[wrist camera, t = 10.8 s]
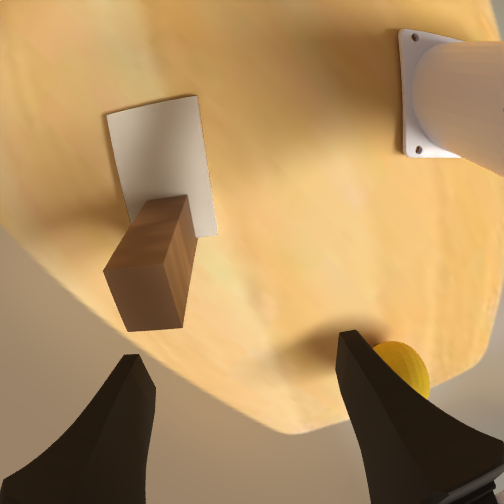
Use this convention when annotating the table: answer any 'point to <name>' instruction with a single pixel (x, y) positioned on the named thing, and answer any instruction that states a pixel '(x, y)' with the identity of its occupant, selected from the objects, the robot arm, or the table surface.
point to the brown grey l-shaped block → (159, 210)
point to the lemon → (406, 365)
